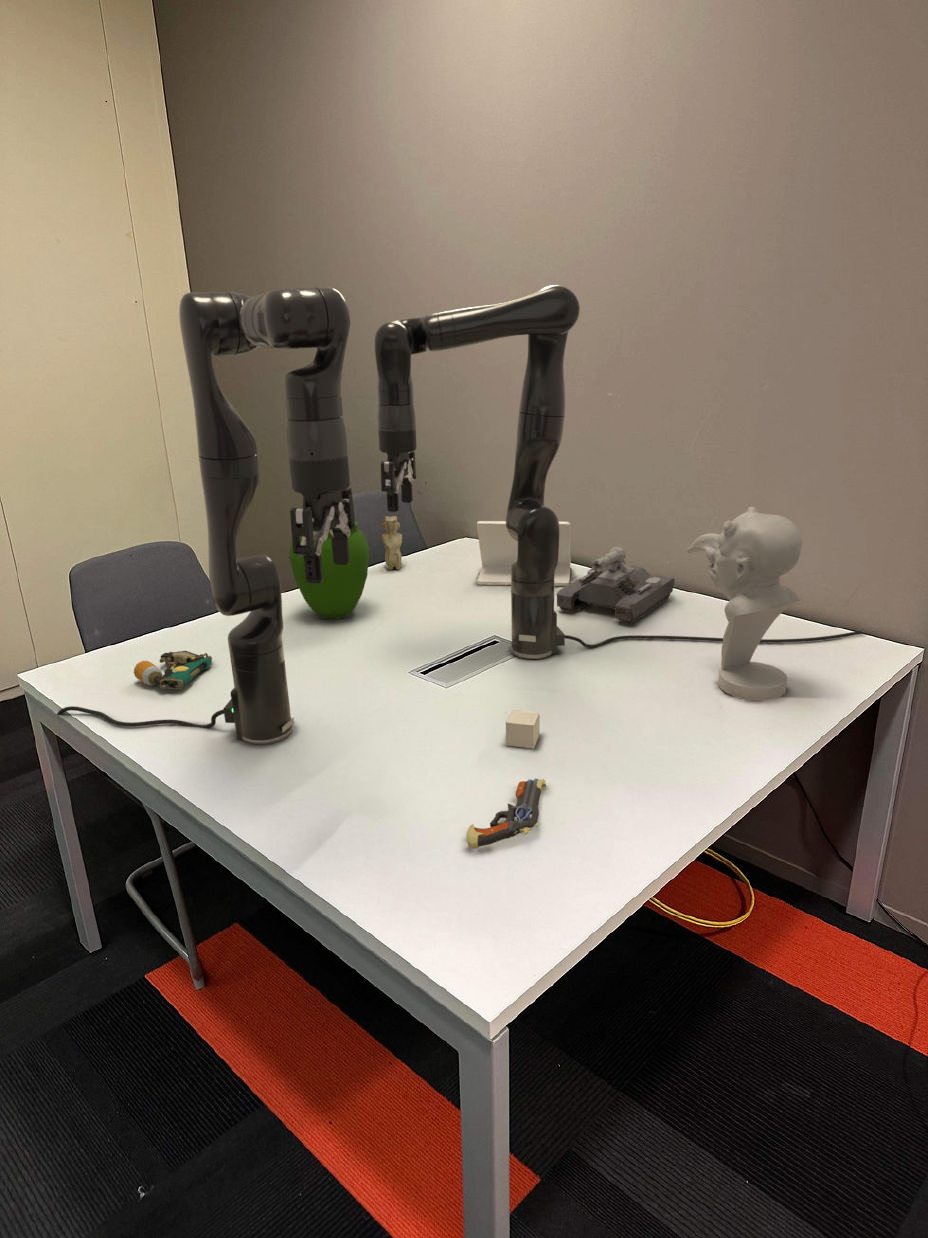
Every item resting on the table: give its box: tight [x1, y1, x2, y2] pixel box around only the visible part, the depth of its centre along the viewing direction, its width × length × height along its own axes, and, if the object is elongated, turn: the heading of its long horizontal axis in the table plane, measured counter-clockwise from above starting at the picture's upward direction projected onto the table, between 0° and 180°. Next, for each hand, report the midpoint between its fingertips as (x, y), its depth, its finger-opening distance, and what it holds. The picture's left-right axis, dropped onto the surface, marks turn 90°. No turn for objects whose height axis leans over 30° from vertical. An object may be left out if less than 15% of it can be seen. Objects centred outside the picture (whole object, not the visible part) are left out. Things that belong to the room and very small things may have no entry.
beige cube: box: [505, 709, 541, 750], centre depth 150 cm, size 5×5×5 cm
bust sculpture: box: [686, 506, 803, 701], centre depth 166 cm, size 16×24×35 cm, turn 28°
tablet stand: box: [476, 520, 572, 587], centre depth 236 cm, size 18×25×17 cm
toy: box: [556, 546, 676, 624], centre depth 212 cm, size 25×20×15 cm
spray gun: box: [133, 650, 213, 690], centre depth 180 cm, size 4×17×15 cm
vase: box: [288, 514, 370, 620], centre depth 209 cm, size 20×20×24 cm
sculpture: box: [381, 515, 403, 570], centre depth 247 cm, size 6×7×15 cm
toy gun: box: [466, 778, 547, 850], centre depth 128 cm, size 3×19×10 cm
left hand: (328, 572), depth 116 cm, fingers open, 8 cm apart
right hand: (400, 506), depth 176 cm, fingers open, 8 cm apart
